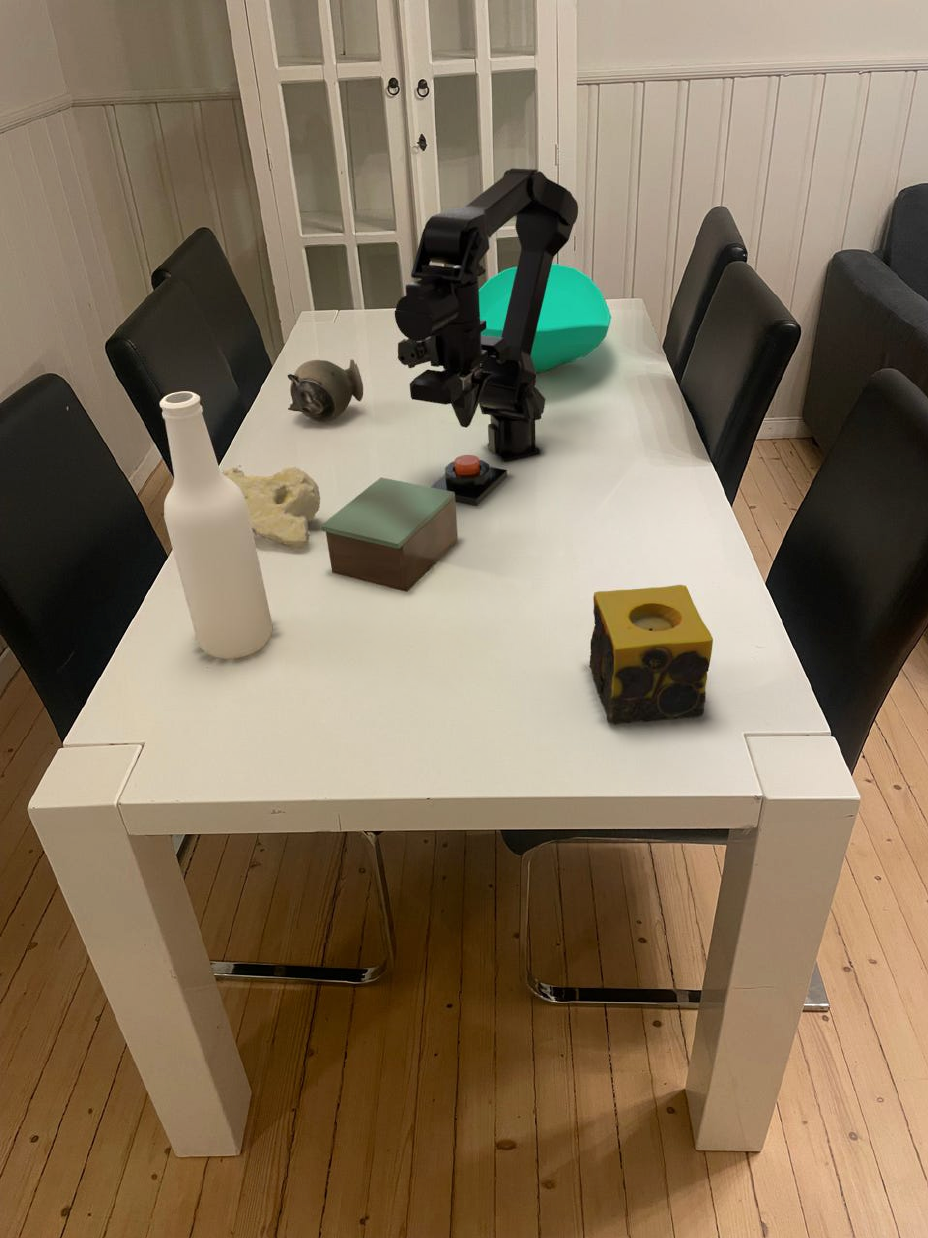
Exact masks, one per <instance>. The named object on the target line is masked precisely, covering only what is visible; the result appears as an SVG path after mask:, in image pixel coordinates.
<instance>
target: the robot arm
mask: <svg viewBox="0 0 928 1238" xmlns="http://www.w3.org/2000/svg"><path fill="white" fill-rule="evenodd" d="M502 175H503V176H502V177H501V178H500V179H498V180H497V181H496V182H494V183H493V184H492V185H491V186H489V187H488V188H487V189H485V190H484V191H482V193H480V194H479V195H478V196H476V197H475V198H474V199H472V201H470V202H469V203H468V204H467V205H465V206H462V207H458V208H451V209H447V210H444V211H442V212H441V211H440V212H439V213H436V214H433V215H432V216H430V218H429V219H427V221H426V223H425V225H424V228H423V230H422V233H421V237H420V240H419V244H418V247H417V251H416V255H415V259H414V262H413V266H412V268H411V269H412V270H411V273H410V276H411V278H412V279H419V280H417V281H414V282H410V283H408V284H405V295H404V296H401V297H400V299H399V300H397V301H398V302H397V304H396V307H395V310H394V320H395V323H396V325H397V328H398V329H399V331H400V333H402V335H404V337H406V338H404V339H402V340H401V341H399V342H398V343H397V360H398V361H399V362H400V363H401V364H402V365H403V366H407V367H408V369H413V368H415V367H416V366H419V365H422V364H425V363H429V362H430V367H435V368H436V367H437V368H439V367H442V368H443V370H434V369H426V370H424V371H423V372H421V373H420V374H419V375H418V376H416V377H415V378H413V379H412V381H410V383H409V393H410V394H409V395H410V398H411V400H415V401H421V402H426V403H433V404H439V405H451V407H452V409H453V411H454V414H455V416H456V418H457V421H458V423H459V425H460V427H462V428H468V427H469V426H470V425H471V423H472V421H473V418H474V417H475V414H476V411H477V409H478V407H479V409H480V411H481V414H482V415H486V416H487V415H489V416H490V423H489V424H487V435H488V443H487V448H488V449H489V450H490V451H491V452H492V453H493V454H494V455H495V456H497V458H499V459H500V460H501V461H502V462H509V461H513V460H518V459H522V458H526V457H532V456H535V455H539V454H541V449H540V447H538V446H537V445H536V444H537V443H536V442H537V441H536V439H537V437H536V435H537V434H536V432H537V431H536V421H540V420H541V419H542V415H543V414H544V411H545V408H546V406H545V405H546V398H545V397H544V395H543V394H542V393H541V391H539V389H538V388H537V387H536V384H537V383H536V382H537V377H538V376H537V372H535V368H534V365H533V362H532V359H531V351H532V347H533V343H534V338H535V334H536V330H537V325H538V321H539V317H540V313H541V308H542V304H543V300H544V296H545V291H546V287H547V283H548V278H549V274H550V270H551V266H552V264H553V261H554V258H555V256H556V255H557V254H558V253H559V252H560V251H561V249H562V248H564V246H565V245H566V244H567V243H568V242H569V240H570V237H571V234H572V231H573V228H574V225H575V224H576V222H577V219H578V215H579V205H578V201H577V200H576V199H575V197H574V196H573V193H572V192H571V191H570V190H568V189H567V188H566V187H564V186H562V185H560V184H558V183H557V182H555V181H553V180H551V179H549V178H548V177H547V176H546V175H545V174H544V172H542V171H540V170H538V169H537V168H526V167H511V168H510V169H507V170H505V171H504V173H503V174H502ZM514 217H515V218H516V219H515V226H514V229H515V232H516V234H517V238H518V241H519V245H520V253H519V257H518V262H517V266H516V267H517V270H516V274H515V279H514V283H513V287H512V292H511V296H510V300H509V305H508V309H507V314H506V318H505V322H504V327H503V331H502V335H501V338H500V337H492V336H484V335H481V332H482V331H483V330H485V329H486V321H483V320H480V306H479V289H480V288H479V277H481V276H482V275H484V274H486V270H487V269H486V268H485V266H483V265H482V264H480V263H481V262H480V261H481V260H482V259H483V257H484V256H485V255H486V254H487V253H488V251H489V250H490V248H491V247H490V246H491V244H490V242H491V241H490V239H491V237H492V236H493V235H494V234H495V233H496V232H498V231H499V230H500V229H501V228H502V227H504V226H505V225H506V224H507V223H509V221H510V220H512V219H513V218H514ZM431 263H432V264H431ZM435 264H437V265H435ZM438 264H440V265H438ZM445 265H447V266H445ZM448 265H449V266H448ZM452 266H453V267H452Z"/></svg>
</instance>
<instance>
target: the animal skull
mask: <svg viewBox="0 0 928 1238" xmlns="http://www.w3.org/2000/svg"><path fill="white" fill-rule="evenodd" d="M241 467H242V465H241V464H238V465H236V466H234V467H232V468H230V469H228V470H225V471H221V472H222V473H223V475H225V476H226V477H227V478H229V479H230V480H232V481H233V482H234V483H235V484H236V485H237V486H238V487H239V488H240V490H241V492H242V494H243V496H244V498H245V500H246V502H247V506H248V511H249V516H250V520H251V525H252V530H253V531H255V532H256V534H258V535H259V536H263V537H264V538H267V539H269V540H272V541H275V542H276V543H279V544H285V545H286V546H290V547H293V548H296V549H303V548H305V547H307V546H308V545H309V540H310V535H309V523H308V522H309V521H311V520H313V519H314V517H315V516H316V514H317V513H318V512H319V510H320V506H321V495H320V490H319V489H320V488H319V484H318V483H317V482H316V480H315V479H313V477H311V475H309V474H308V473H306V472H305V471H304V470H302V469H301V468H300V467H296V466H294V467H285V468H283V469H282V470H280V471H278V472H276V473H273V474H272V475H268V476H256V475H248V476H246V474H245V472H244V471H243V470H242V469H240V468H241Z"/></svg>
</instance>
